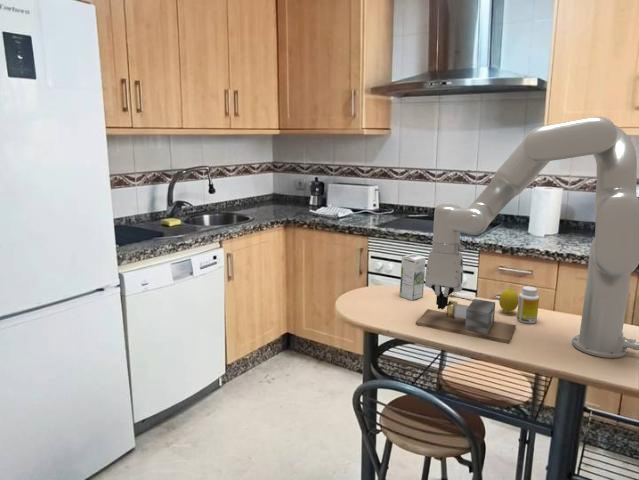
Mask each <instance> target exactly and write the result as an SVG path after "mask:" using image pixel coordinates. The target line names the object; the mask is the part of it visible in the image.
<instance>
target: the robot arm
mask: <svg viewBox="0 0 639 480" xmlns="http://www.w3.org/2000/svg"><path fill="white" fill-rule="evenodd" d="M591 155H593V157H594V159H595V162H596V163H595V165H596V182H595V183H596V185H595V186H596V187H595V196H594V197H595V198H594V204H593V212H594V215H595V231H594V237H593V238H592V240H591V242H590V247H589V253H588V267H587V274H586V275H587V276H586V285H585V291H584V296H583V298H584V299H583V305H582V306H583V307H582V313H581V314H582V315H581V321H580V327H579V328H580V329H579V334H577V335H574V336H573V337H572V339H571V344H572V346H573V347H575V348H576V349H577V350H579V351H581V352H582V353H585V354H588V355H591V356H596V357H601V358H609V359H617V358H618V359H619V358H622V357H625V356H626V355H627V351H628V349H632V350H636V351H639V342H637V340H636V339H633V338H626V336H624V332H623V329H624V324H625V317H626V311H627V304H628V298H629V292H630V286H631V277H632V272H634V271H636V269H637V268H638V266H639V197H638V196H637V182H638V177H637V176H638V175H637V174H638V173H637V171H638V161H637V160H638V158H637V152H636V148H635V145H634V144H633V142H632V140H631V138H630V137H629V135H628V134H627V133H626V132H625V131H624V130H623V129H622V128H621V127H619V126H618V125H616V124H614V122H613V121H611V120H610V119H609V118H606V117H605V116H604V117H603V116H593V117H589V118H588V117H587V118H583V119H576V120H572V121H567V122H562V123H557V124H556V123H555V124H551V125H550V124H549V125H544V126H543V125H542V126H537V127H535V128H533V129H532V130H530V131H529V132H528V134H527V135H526V136H525V138H524V140H522V142H521V143H520V144H519V145H518V146H517V148H516V149H515V150H513V152H512V153H511V154H510V155H509V156H508V158H507V159H506V160H505V161H504V162H503V164H502V165H501V166H500V167H499V168H498V169H497V170H496V172H495V173H494V175H493V177H492V179H491V181H490V182H489V183H488V185H487V186H486V187H485V188H484V190H483V191H482V192H480V193H479V195H478V196H477V198H476V199H475V200H474V201H473V202H472V203H471V204H470V205H469V206H468V207H466V208H465V207H463V208H462V207H461V206H459V205H457V204H452V203H451V204H449V203H446V204H445V203H442V204H438V205H436V207H435V209H434V216H433V228H432V229H433V230H432V234H433V235H432V244H431V245H432V246H431V247H432V249H430V250H429V253H428V257H427V264H426V266H425V275H424V286H425V287H426V288H429V289H432V291H433V292H434V295H436V301H435V302H436V306H437V309H438V310H441V311H442V310H444V309H445V308H447V305H448V302H449V296H450V295H452V294H451V293H452V292H455V293H461V292H462V291H463V287H462V284H463V281H464V280H463V279H464V262H463V261H464V259H463V253H462V252H461V251H465V247H466V246H465V245H463V244H461V233H463V234H466V235H471V236H474V235H475V236H476V235H480V234H483V233H484V232H485V231H486V230H487V228H488V227H489V226H490V224H491V222H493V221H494V220H495V218H496V217H497V216H498V215H499V214H500V212H501V211H502V210H503V209H504V208H505V207H506V206H507V205H508V204H509V203H510V202H511V201H512V200H513V199H514V198H515V197H517V196H519V195H520V194H521V193H522V192H523V191H524V190H525V189H526V188H527V187H528V186H529V185H530V184H531V182H533V180H534V179H535V178H536V177H537V176H538V175H539V173H541V172H542V170H543V169H544V168H545V167H546V166H547V165H548V164H549V162H551V161H560V160H567V159H572V158H579V157H585V156H591ZM442 287H444V290H443V288H442ZM442 291H444V293H442Z"/></svg>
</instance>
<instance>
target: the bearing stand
mask: <svg viewBox="0 0 639 480" xmlns="http://www.w3.org/2000/svg"><path fill="white" fill-rule="evenodd" d="M473 299H474V300H471V303H470V304H469V305H468V306H469V307H468V308H467V311H466V319H464V318H459V317H455V319H453V318H448V317H447V315H446V312H447V311H442V310H441V311H440V310H435V309H429V308H428V309H426V310H425V311H424V312H423V313H422V314H421V315H420V317H419V318H418V319H417V320H416V321H415V326H419V327H423V328H424V327H425V328H429V329H435V330H438V331H445V332H448V333H449V332H450V333H454V334H458V335H463V336H469V337H475V338H479V339H484V340H490V341H494V342H498V343H504V344H510V342H511V340H512V337H513V335H514V333H515V331H516V327H517V325H516V324H513V323H512V324H511V323H506V322H501V321H497V320H496V321H495V312H496V301H491V300H485V299H478V298H473ZM492 310H494V312H493V320H492V322H491V323H490V316H491V311H492Z"/></svg>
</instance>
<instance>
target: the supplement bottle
mask: <svg viewBox="0 0 639 480" xmlns="http://www.w3.org/2000/svg"><path fill="white" fill-rule="evenodd" d="M539 301H540V296H539V295H538V289H537V288H536V287H534V286H523V287H522V290H521V292H520V293H519V294H518V306H517V311H516V315H517V316H516V319H517V320H518V321H519V322H521V323H524V324H535V323H536V322H537V321H538V312H539V305H540V302H539Z"/></svg>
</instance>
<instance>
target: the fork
mask: <svg viewBox="0 0 639 480" xmlns="http://www.w3.org/2000/svg"><path fill="white" fill-rule="evenodd" d="M442 293H443V294H444V290H442ZM450 295H453V296H456V297H457V298H460V299H465V300H469V301H473V300H474V299H475V298H471V297H465V296H461V295H459V294H457V292H452V293H451V294H450Z"/></svg>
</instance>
